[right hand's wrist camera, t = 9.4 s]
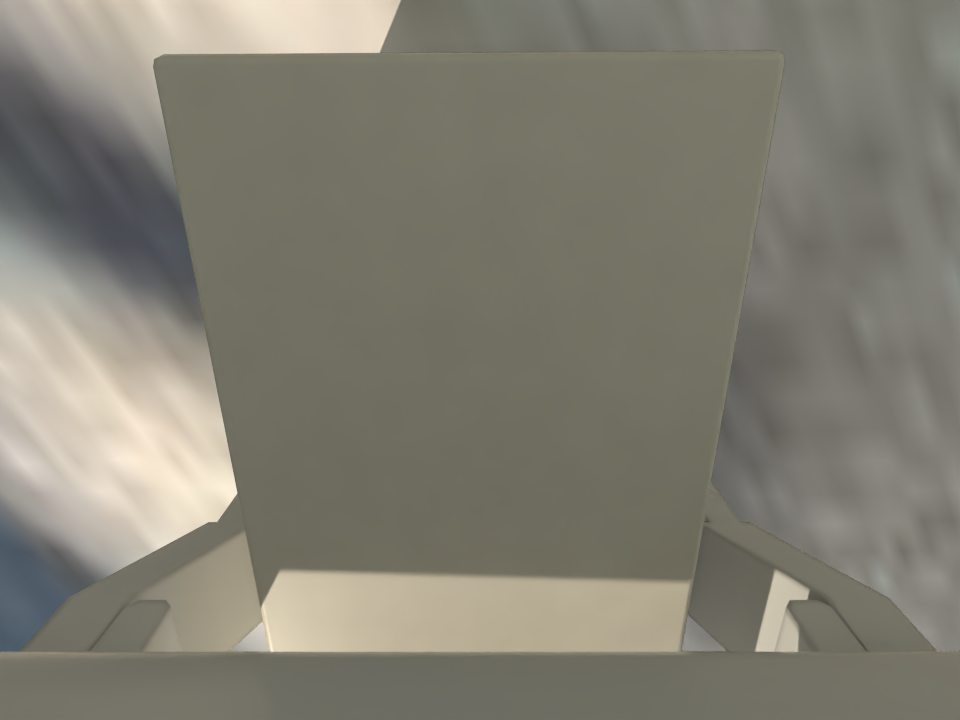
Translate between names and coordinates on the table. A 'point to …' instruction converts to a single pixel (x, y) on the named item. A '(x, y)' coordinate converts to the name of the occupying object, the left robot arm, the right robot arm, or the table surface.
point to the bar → (472, 330)
